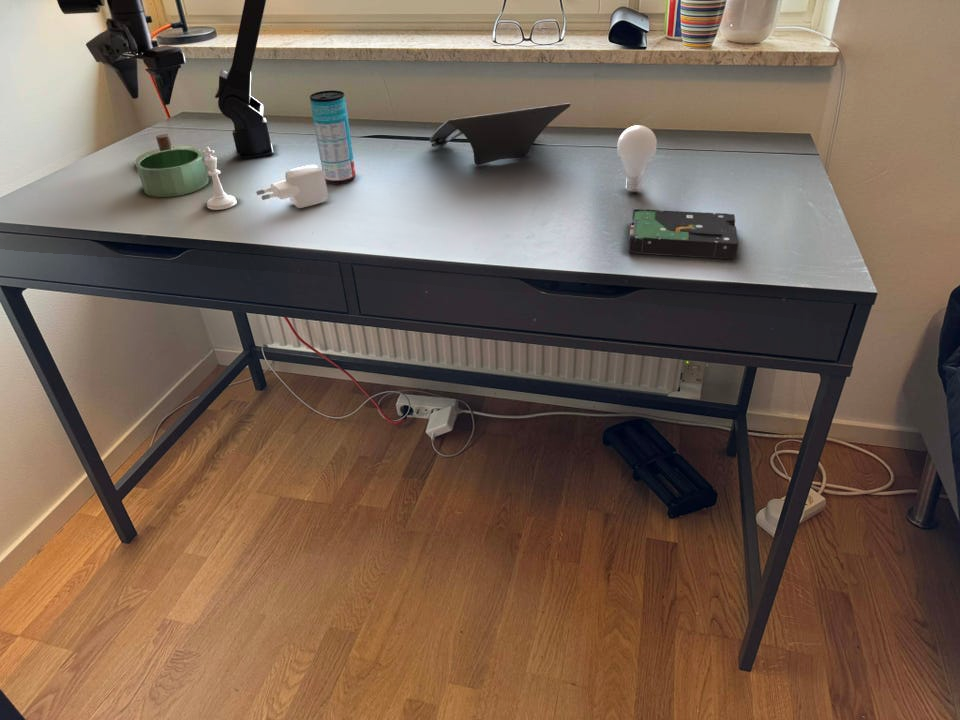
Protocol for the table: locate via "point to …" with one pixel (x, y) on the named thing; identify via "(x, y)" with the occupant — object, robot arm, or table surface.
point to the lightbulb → (636, 154)
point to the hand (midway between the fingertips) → (150, 101)
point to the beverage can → (333, 136)
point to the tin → (172, 172)
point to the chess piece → (217, 186)
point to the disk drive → (683, 233)
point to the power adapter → (300, 187)
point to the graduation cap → (499, 132)
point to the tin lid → (164, 146)
